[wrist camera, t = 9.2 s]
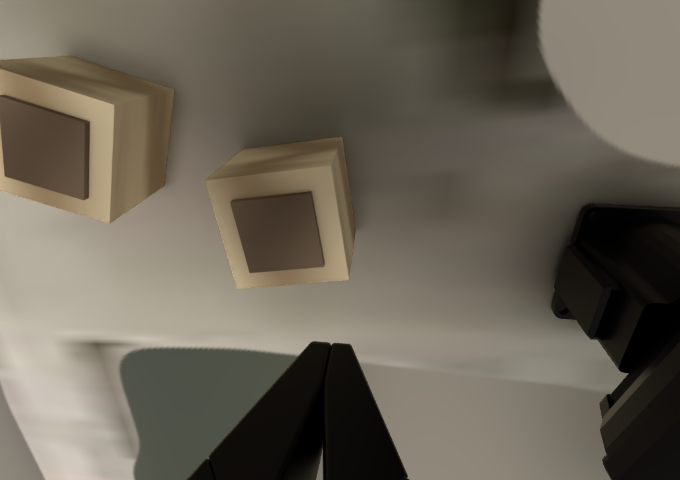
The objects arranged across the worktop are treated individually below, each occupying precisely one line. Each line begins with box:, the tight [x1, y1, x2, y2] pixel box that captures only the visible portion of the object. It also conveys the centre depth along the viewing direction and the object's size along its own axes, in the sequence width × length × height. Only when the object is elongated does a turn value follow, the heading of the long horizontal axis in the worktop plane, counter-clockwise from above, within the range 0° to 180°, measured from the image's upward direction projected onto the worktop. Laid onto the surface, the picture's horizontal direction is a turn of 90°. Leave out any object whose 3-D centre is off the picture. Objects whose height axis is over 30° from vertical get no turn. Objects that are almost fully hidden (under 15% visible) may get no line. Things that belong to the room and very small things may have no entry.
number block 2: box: [205, 137, 356, 289], centre depth 19 cm, size 5×5×5 cm
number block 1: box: [0, 56, 175, 224], centre depth 18 cm, size 5×5×5 cm
